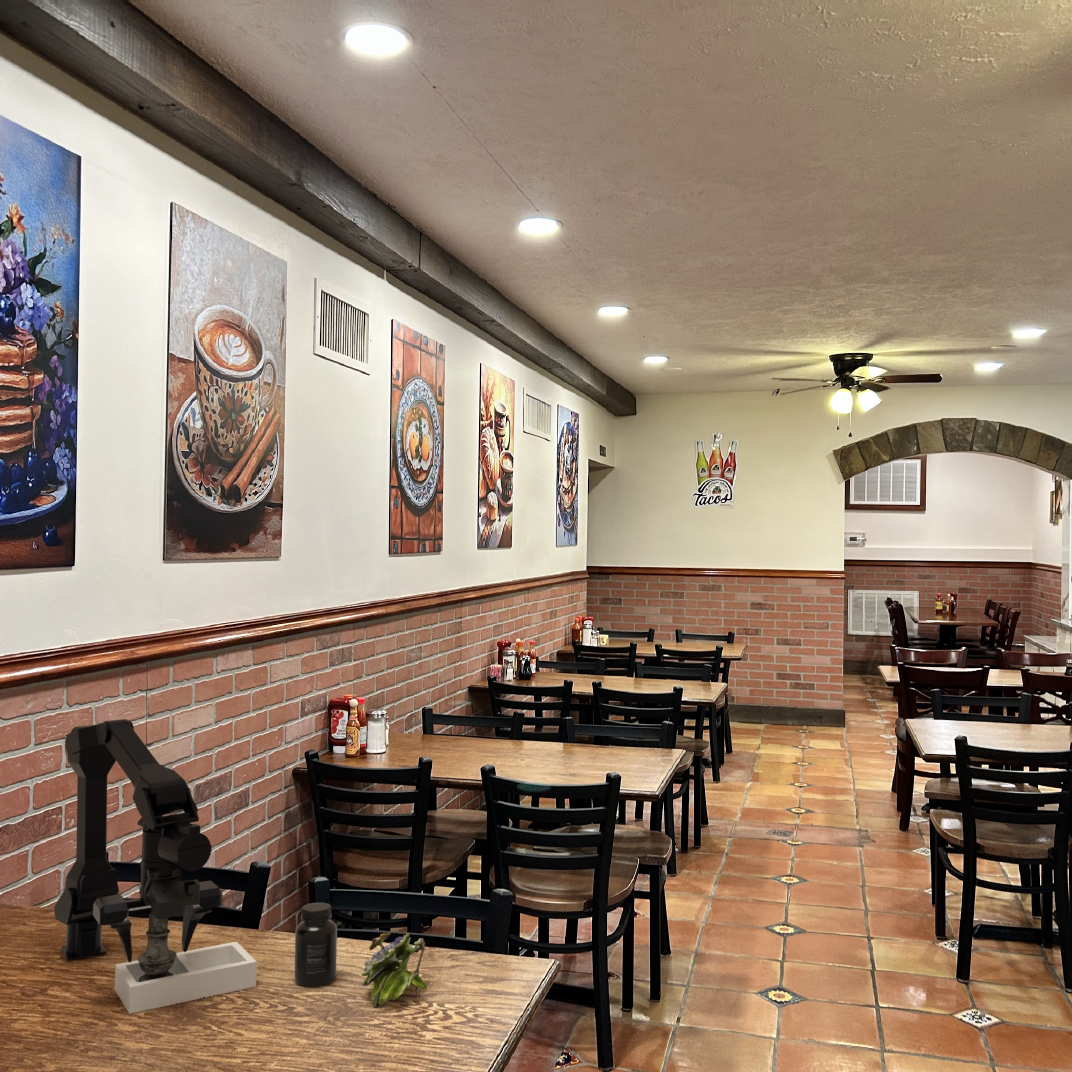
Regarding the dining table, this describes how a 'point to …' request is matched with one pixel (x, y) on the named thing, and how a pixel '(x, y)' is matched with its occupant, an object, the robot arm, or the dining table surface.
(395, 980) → the passion flower
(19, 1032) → the dining table surface
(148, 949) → the grey stone turned post
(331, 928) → the supplement bottle
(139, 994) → the condiment caddy
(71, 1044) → the dining table surface
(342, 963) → the dining table surface
